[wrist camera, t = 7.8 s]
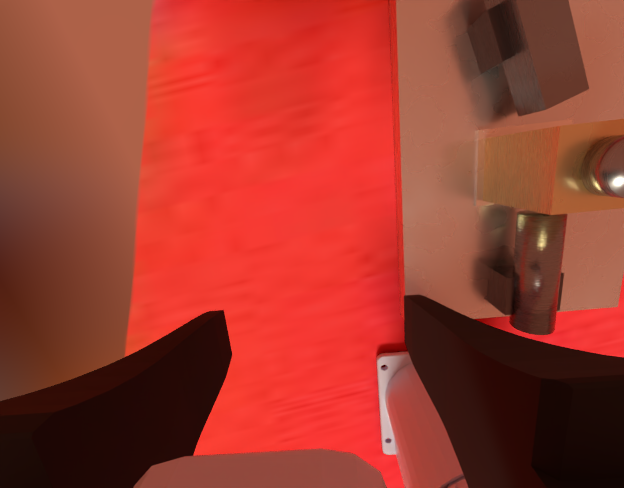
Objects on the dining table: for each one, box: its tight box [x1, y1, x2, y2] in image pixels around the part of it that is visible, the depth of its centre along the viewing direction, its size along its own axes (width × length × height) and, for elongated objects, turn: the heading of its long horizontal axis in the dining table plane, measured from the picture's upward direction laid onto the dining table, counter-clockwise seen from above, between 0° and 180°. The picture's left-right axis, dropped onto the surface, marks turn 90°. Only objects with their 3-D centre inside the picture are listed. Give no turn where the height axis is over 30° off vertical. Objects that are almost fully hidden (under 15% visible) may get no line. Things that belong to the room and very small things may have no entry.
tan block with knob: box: [483, 119, 624, 215], centre depth 14 cm, size 4×4×7 cm
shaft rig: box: [389, 0, 624, 335], centre depth 17 cm, size 20×14×5 cm
